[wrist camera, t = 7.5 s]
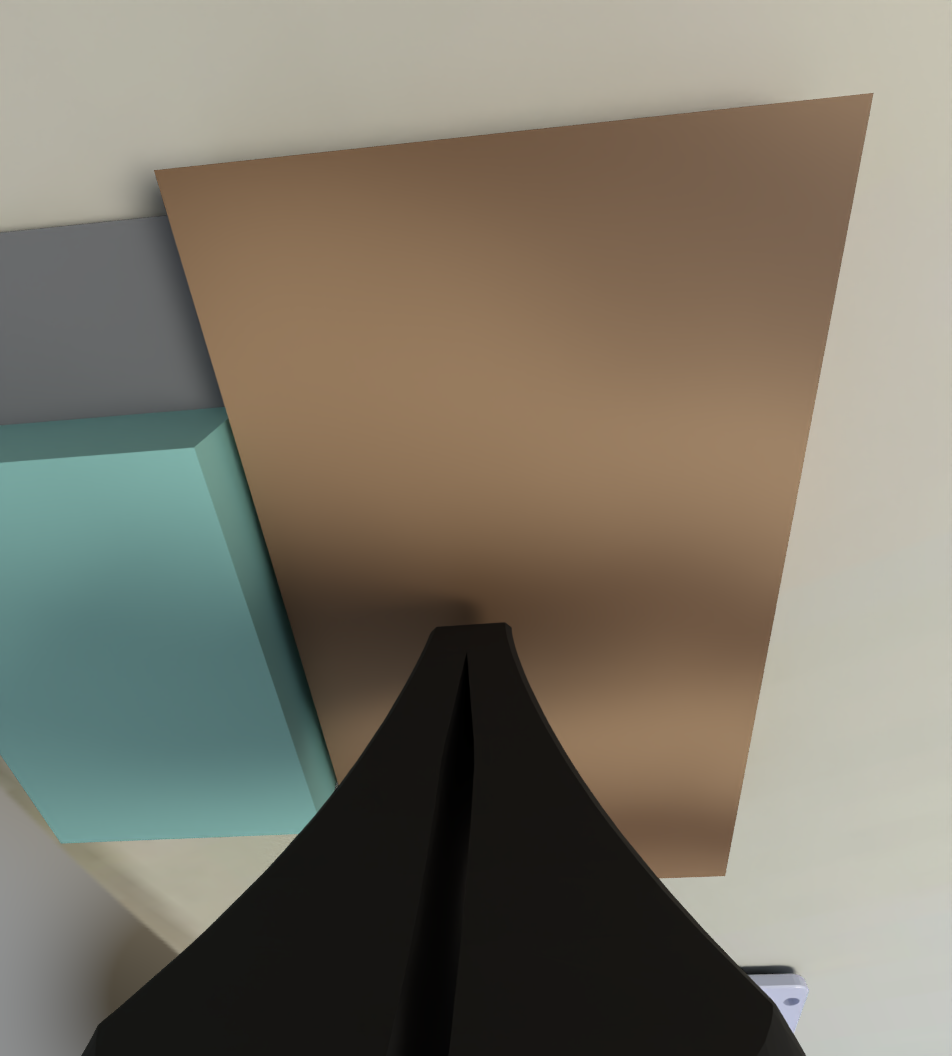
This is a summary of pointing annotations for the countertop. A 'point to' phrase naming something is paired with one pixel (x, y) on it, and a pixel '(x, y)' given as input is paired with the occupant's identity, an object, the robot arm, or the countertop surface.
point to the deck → (538, 418)
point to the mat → (99, 324)
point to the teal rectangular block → (148, 636)
